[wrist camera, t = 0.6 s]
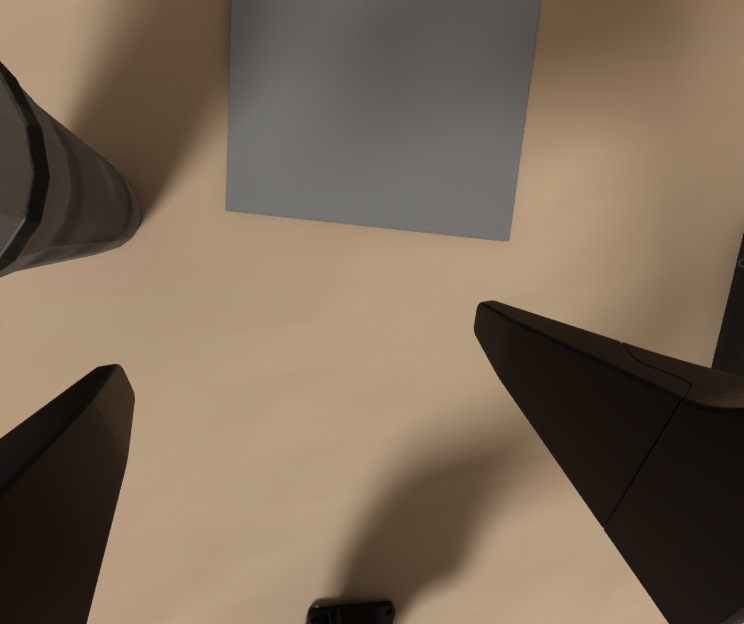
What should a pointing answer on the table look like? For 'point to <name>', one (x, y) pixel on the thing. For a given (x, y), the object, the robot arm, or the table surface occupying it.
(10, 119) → the beverage cup
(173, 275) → the table surface
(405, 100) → the rubber mat
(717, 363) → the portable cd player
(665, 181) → the table surface
